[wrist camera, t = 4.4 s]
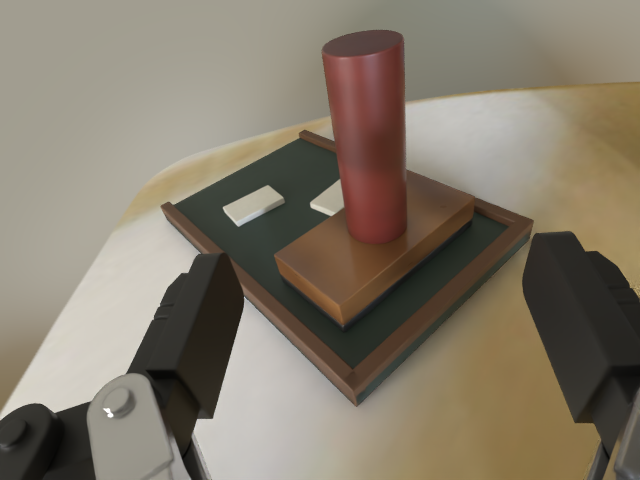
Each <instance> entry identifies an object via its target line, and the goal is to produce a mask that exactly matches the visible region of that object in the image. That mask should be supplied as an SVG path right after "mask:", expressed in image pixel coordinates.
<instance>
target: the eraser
mask: <svg viewBox="0 0 640 480" xmlns="http://www.w3.org/2000/svg"><path fill="white" fill-rule="evenodd" d="M322 58H323V65H324V72H325V78H326V85H327V91H328V99H329V106H330V112H331V119H332V126H333V133H334V140H335V147H336V154H337V160H338V167H339V174H340V181H341V188H342V195H343V202H344V208H343V209H341V210H340V211H338V212H337V213H335V214H334V215H332V216H331V217H329V218H328V219H326V220H325V221H323V222H322V223H320V224H319V225H317V226H316V227H314V228H313V229H311V230H310V231H308V232H307V233H305V234H304V235H302V236H301V237H299V238H298V239H296V240H295V241H293V242H292V243H290V244H289V245H287V246H286V247H284V248H283V249H281V250H280V251H278V252H277V253H275V254H274V257H275V260H276V263H277V266H278V269H279V272H280V275H281V278H282V281H283V282H285V283H286V284H287V285H288V286H289V287H291V288H292V289H293V290H294V291H295V292H296V293H298V294H299V295H300V296H301V297H302V298H304V299H305V300H306V301H307V302H308V303H310V304H311V305H312V306H313V307H314V308H315V309H317V310H318V311H319V312H320V313H321V314H323V315H324V316H325V317H326V318H327V319H329V320H330V321H331V322H332V323H333V324H334V325H336V326H337V327H338V328H339V329H340V330H342V331H343V332H344V333H345V332H346V331H347V330H349V329H350V328H351V327H352V326H353V325H355V324H356V323H357V322H358V321H359V320H360V319H362V318H363V317H364V316H365V315H366V314H368V313H369V312H370V311H371V310H372V309H373V308H375V307H376V306H377V305H378V304H379V303H381V302H382V301H383V300H384V299H385V298H386V297H388V296H389V295H390V294H391V293H392V292H393V291H395V290H396V289H397V288H398V287H399V286H401V285H402V284H403V283H404V282H405V281H406V280H408V279H409V278H410V277H411V276H412V275H414V274H415V273H416V272H417V271H418V270H419V269H421V268H422V267H423V266H424V265H425V264H426V263H428V262H429V261H430V260H431V259H432V258H434V257H435V256H436V255H437V254H438V253H439V252H441V251H442V250H443V249H444V248H445V247H447V246H448V245H449V244H450V243H451V242H452V241H454V240H455V239H456V238H457V237H458V236H459V235H461V234H462V233H463V232H464V231H465V230H467V229H468V228H469V227H470V226H471V225H472V221H473V212H474V204H475V196H472V195H470V194H467V193H465V192H462V191H460V190H457V189H455V188H452V187H450V186H447V185H444V184H442V183H439V182H437V181H434V180H432V179H429V178H427V177H424V176H422V175H419V174H417V173H414V172H412V171H409V170H407V169H406V126H405V72H404V70H405V68H404V37H403V35H402V34H400V33H398V32H395V31H389V30H370V31H362V32H356V33H351V34H347V35H344V36H341V37H338V38H336V39H333V40H331V41H329V42H328V43H326V44H325V45H324V46H323V48H322Z"/></svg>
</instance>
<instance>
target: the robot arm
mask: <svg viewBox="0 0 640 480" xmlns="http://www.w3.org/2000/svg"><path fill="white" fill-rule="evenodd" d="M629 285H630V284H629V283H628V281H627V280H626V278H625V277H624V275H623V274H622V272H621V271H620V270H619V268H618V267H617V266H616V265H615V264H614V263H612V262H611V261H610V260H608V259H607V258H606V257H604V256H603V255H602V254H600V253H599V252H597V251H589V252H585V250H584V249H583V247H582V246H581V244H580V242H579V241H578V239H577V237H576V236H575V235H574V234H573V233H572V232H571V231H564V232H548V233H536V234H535V235H534V236H533V239H532V242H531V246H530V250H529V254H528V258H527V262H526V265H525V269H524V273H523V279H522V286H523V293H524V297H525V300H526V303H527V305H528V308H529V310H530V313H531V315H532V318H533V320H534V323H535V325H536V328H537V330H538V333H539V335H540V338H541V340H542V343H543V345H544V348H545V350H546V352H547V355H548V357H549V360H550V362H551V365H552V367H553V370H554V372H555V375H556V377H557V380H558V382H559V385H560V387H561V390H562V392H563V395H564V397H565V400H566V402H567V405H568V407H569V410H570V412H571V415H572V417H573V420H574V422H575V423H594V424H595V426H596V428H597V431H598V433H599V435H600V438H599V440H598V442H597V444H596V447H595V449H594V452H593V455H592V457H591V460H590V463H589V465H588V468H587V471H586V473H585V476H584V479H583V480H640V299H639V297H638V296H637V295H636V293H635V292H634V290H633V289H632V288H630V287H629ZM243 307H244V294H243V289H242V286H241V284H240V282H239V279H238V277H237V275H236V272H235V270H234V268H233V265H232V263H231V261H230V258H229V256H228V255H227V254H226V253H224V252H223V253H207V254H198V255H197V256H196V257H195V259H194V261H193V264H192V266H191V268H190V270H189V273H181V274H180V275H179V276H178V278H177V279H176V280H175V281H174V282H173V283H172V284H171V285H170V286H169V287H168V288H167V290H166V292H165V295H164V297H163V299H162V301H161V303H160V307H158V309H157V311H156V313H155V315H154V320H152V322H151V324H150V326H149V328H148V330H147V332H146V334H145V336H144V338H143V340H142V342H141V344H140V346H139V348H138V351H137V353H136V355H135V357H134V359H133V361H132V363H131V365H130V367H129V369H128V371H127V373H126V374H125V375H122V376H119V377H117V378H115V379H113V380H112V381H110V382H109V383H107V384H106V385H105V386H104V387H103V388H102V389H101V390H100V391H99V392H98V393H97V394H96V396H95V397H94V398H93V400H92V401H90V402H87V403H84V404H81V405H78V406H75V407H72V408H69V409H66V410H63V411H60V412H57V413H54V412H52V411H51V410H50V409H48V408H47V407H46V406H44V405H42V404H35V403H34V404H28V405H25V406H22V407H20V408H18V409H16V410H14V411H12V412H11V413H10V414H8V415H7V416H5V417H4V418H3V419H2V420H1V421H0V480H212V479H211V476H210V474H209V471H208V468H207V466H206V463H205V461H204V458H203V455H202V453H201V450H200V448H199V445H198V442H197V440H196V437H195V435H194V433H193V430H194V427H195V424H196V421H197V419H213V416H214V412H215V408H216V405H217V401H218V398H219V394H220V390H221V387H222V383H223V380H224V376H225V373H226V369H227V365H228V362H229V358H230V355H231V351H232V347H233V344H234V340H235V337H236V333H237V329H238V326H239V322H240V319H241V315H242V312H243Z"/></svg>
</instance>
